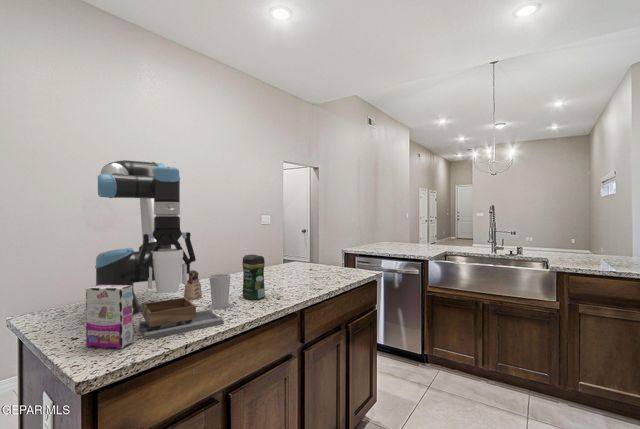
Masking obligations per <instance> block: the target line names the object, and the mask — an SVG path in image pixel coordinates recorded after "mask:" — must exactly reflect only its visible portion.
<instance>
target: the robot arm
mask: <svg viewBox="0 0 640 429" xmlns="http://www.w3.org/2000/svg"><path fill="white" fill-rule="evenodd" d="M180 180H181V176H180V170H179V168H177V167H173V166H165V164H163V163H162V162H161V163H160V162H156V161H149V162H148V161H140V160H139V161H138V160H137V161H136V160H126V159H123V160H116V161H112V162H108V163H107V164H105V165H104V166H103V167H102V168H101V170H100V174H99V173H98V175H97V195H98V197H100V198H106V199H107V198H108V199H117V198H118V199H119V198H120V199H123V198H124V199H139V207H140V208H139V209H140V219H141V220H140V221H141V235H142V237H141V238H142V244H141V245H140V246H138V250H137V251H135V250H134V249H133V248H132V247H127V248H126V247H125V248H117V249H112V250H107V251H104V252H101V253H98V254H97V255H96V258H95V286H96V285H133V286H134V284H135V283H144V282H145V283H146V282H147V288H148V290H152V289H153V281H154V282H155V277H154V271H153V265H152V261H153V252H154V251H155V252H158V250H159V249H172V246H174V247H175V249H177V250H183V259H182V261H183V262H184V263H182V267H181V275H182V276H181V278H182V280H181V282H182V285H184V286H185V285H187V281H188V277H187V276H188V275H189V273H190V271H191V264H192V263H193V262H196V260H197V258H196V255H195V251H194V249H193V245H192V242H191V232H189V231H186V232H183V231H182V230H181V217H180V216H179V215H180V214H181V208H180V207H181V206H180V205H181V204H180V201H181V200H180V198H181V197H180V196H181V195H180V190H181V189H180V186H181V185H180V184H181V183H180V182H181V181H180ZM181 237H182V238H183V239H184V242H185V246H186V249H187V253H188V256H187V254H186V252H185V250H184V248H183V247H182V245H181V243H180V242H179V240H180V238H181ZM151 251H153V252H152V253H151ZM139 311H140V303H139V301H138V298H137V296H136V293H135V290H134V288H133V315H135V314H136V313H138V312H139Z"/></svg>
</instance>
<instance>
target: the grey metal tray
mask: <svg viewBox="0 0 640 429" xmlns="http://www.w3.org/2000/svg"><path fill="white" fill-rule="evenodd" d="M223 318H224V317H222V316H219V317H218V315H216V314H215V313H213V308H209V309H204V310H198V311H196V319H193V320H192V322H190V323H186V322H185V321H181V322H176V323H170V324H165V325H161V327H160V328H159V329H157V330H156V329H153V327H149V326H148V324H147V323H146V321H145V320H141V321H139V323H138V327H139V330H140V332H141V334H142V335H143V338H144V340H145V341H147V340H146V339H148V340H151V338H153V339H157V338H156V337H158V338H161V337H162V336H163V337H167V336H171V335H177V334H181V333H186V332H191V331H195V330H200V329H206V328H209V327H211V328H212V327H216V326H220V325H224V324H225V323H224V319H223Z"/></svg>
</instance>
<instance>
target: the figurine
mask: <svg viewBox="0 0 640 429" xmlns="http://www.w3.org/2000/svg"><path fill="white" fill-rule="evenodd" d="M202 292H203V291H202V285H201V282H200V279H199V272H198V271H197V270H195V269H194V270H193V269H190V273H189V274H188V279H187V285H184V291H183V298H185V297H186V298H187V299H188V300H189V301H191V300H192V301H193V300H194V301H195V300H200V299H201V298H203V297H202V296H203V293H202Z"/></svg>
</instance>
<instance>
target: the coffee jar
mask: <svg viewBox="0 0 640 429" xmlns="http://www.w3.org/2000/svg"><path fill="white" fill-rule="evenodd" d="M241 263H242V271H243V275H242V278H243V279H242V297H243V298H244V299H248V300H249V301H254V300H262V299H263V298H265V296H266V292H265V290H266V289H265V276H264V275H265V274H264V273H265V264H266V263H265V257H264V256H263V255H257V254H246V255H244V256H243V257H242V262H241Z"/></svg>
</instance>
